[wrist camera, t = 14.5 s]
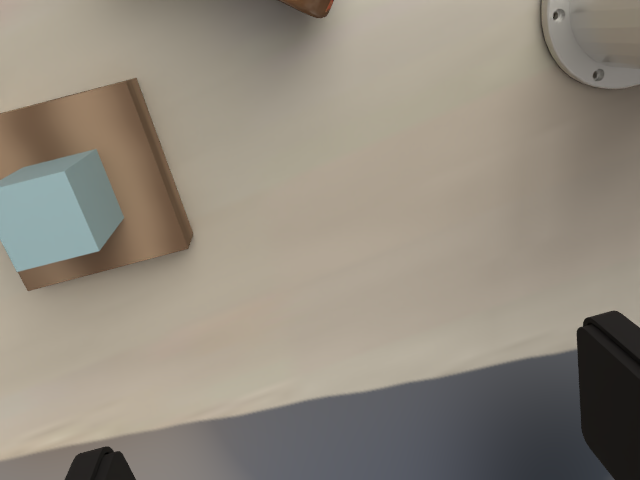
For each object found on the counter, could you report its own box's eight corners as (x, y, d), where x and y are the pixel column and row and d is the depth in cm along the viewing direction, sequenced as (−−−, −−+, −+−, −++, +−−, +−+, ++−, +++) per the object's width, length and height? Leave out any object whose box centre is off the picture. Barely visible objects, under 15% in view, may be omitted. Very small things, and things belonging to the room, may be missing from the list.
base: (136, 77, 35) (125, 81, 33) (193, 233, 40) (188, 248, 37) (-33, 122, 35) (-58, 129, 33) (44, 273, 40) (27, 291, 37)
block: (96, 148, 34) (64, 171, 29) (124, 217, 36) (99, 251, 30) (22, 167, 34) (-24, 193, 28) (54, 235, 36) (17, 272, 30)
